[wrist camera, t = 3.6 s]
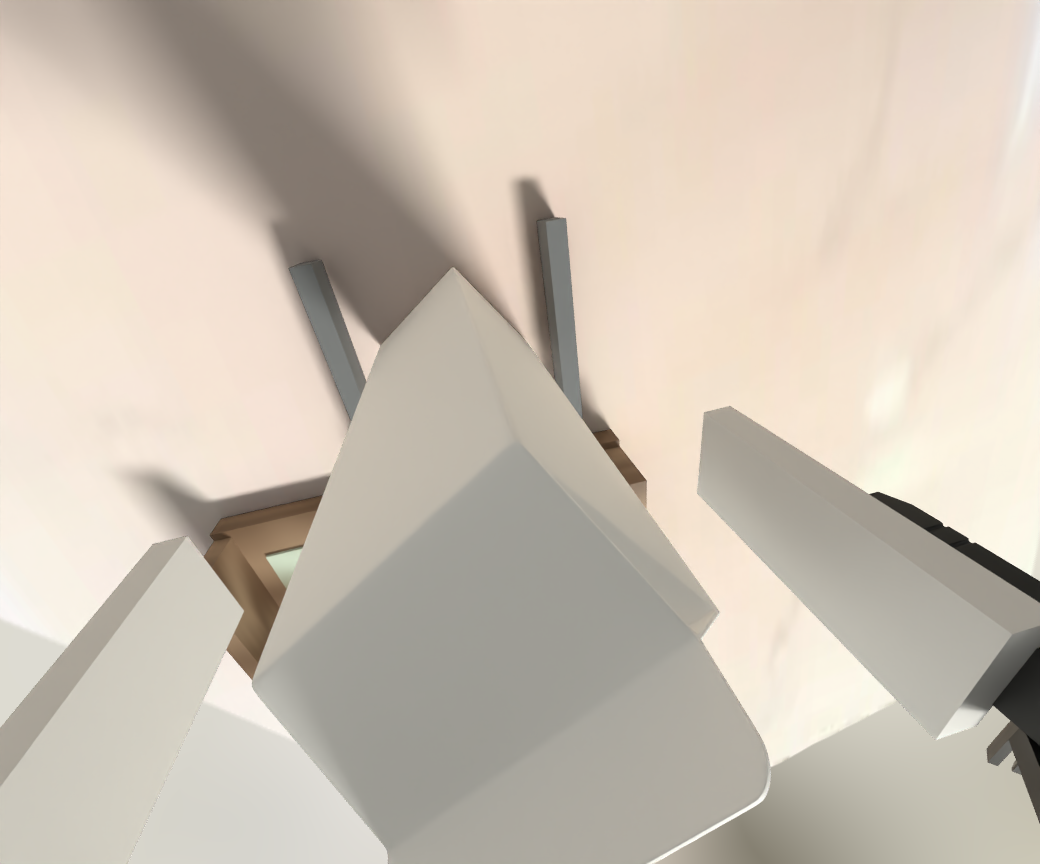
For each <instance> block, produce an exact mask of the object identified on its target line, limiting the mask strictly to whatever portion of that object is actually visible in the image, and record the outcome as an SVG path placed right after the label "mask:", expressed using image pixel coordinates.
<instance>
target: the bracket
mask: <svg viewBox="0 0 1040 864" xmlns="http://www.w3.org/2000/svg"><path fill="white" fill-rule="evenodd" d="M537 228H538V237H539V246H540V255H541V263H542V272H543V281H544V289H545V298H546V307H547V315H548V324H549V333H550V341H551V350H552V359H553V368H554V376H555V382H556V383H557V385H558V386H559V388H560V389H561V390H562V392H563V393H564V395H565V396H566V397H567V399H568V400H569V402H570V403H571V404H572V406H573V407H574V409H575V410H576V411H577V413H578V414H579V416H580V417H581V418H582V406H581V394H580V382H579V369H578V357H577V345H576V333H575V321H574V309H573V297H572V285H571V273H570V260H569V248H568V236H567V224H566V218H556V217H555V218H549V219H544V220H538V221H537ZM289 270H290V273H291V275H292V278H293V280H294V283H295V285H296V288H297V290H298V292H299V295H300V297H301V300H302V302H303V305H304V307H305V310H306V312H307V315H308V317H309V319H310V322H311V324H312V327H313V329H314V332H315V334H316V337H317V339H318V341H319V344H320V346H321V349H322V351H323V354H324V356H325V359H326V361H327V363H328V366H329V368H330V371H331V373H332V376H333V378H334V381H335V383H336V386H337V388H338V390H339V393H340V395H341V398H342V400H343V403H344V405H345V408H346V410H347V412H348V415H349V417H350V420H351V421H352V418H353V416H354V413H355V411H356V408H357V405H358V403H359V400H360V398H361V395H362V392H363V390H364V387H365V385H366V379H365V377H364V374H363V371H362V368H361V366H360V363H359V360H358V358H357V355H356V352H355V349H354V347H353V344H352V341H351V338H350V336H349V333H348V330H347V328H346V325H345V322H344V319H343V317H342V314H341V311H340V308H339V306H338V303H337V300H336V298H335V295H334V292H333V289H332V287H331V284H330V281H329V278H328V276H327V273H326V270H325V268H324V265H323V262H322V260H316V261H310V262H305V263H300V264H298V265H295V266H293V267H290V268H289ZM582 420H583V418H582Z"/></svg>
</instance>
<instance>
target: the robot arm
mask: <svg viewBox="0 0 1040 864" xmlns="http://www.w3.org/2000/svg"><path fill="white" fill-rule="evenodd" d="M697 494H698V495H699V496H700V497H701V498H702V499H703V500H704V501H705V502H706V503H707V504H708V505H709V506H710V507H711V508H712V509H713V510H714V511H715V512H716V513H717V514H718V515H719V516H720V517H721V519H722V520H723V521H724V522H725V523H726V524H727V525H728V526H729V527H730V528H731V529H732V530H733V531H734V532H735V533H736V534H737V535H738V536H739V537H740V538H741V539H742V540H743V541H744V542H745V543H746V544H747V545H748V547H749V548H750V549H751V550H752V551H753V552H754V553H755V554H756V555H757V556H758V557H759V558H760V559H761V560H762V561H763V562H764V563H765V564H766V565H767V566H768V567H769V568H770V569H771V570H772V571H773V572H774V573H775V575H776V576H777V577H778V578H779V579H780V580H781V581H782V582H783V583H784V584H785V585H786V586H787V587H788V588H789V589H790V590H791V591H792V592H793V593H794V594H795V595H796V596H797V597H798V598H799V599H800V600H801V601H802V603H803V604H804V605H805V606H806V607H807V608H808V609H809V610H810V611H811V612H812V613H813V614H814V615H815V616H816V617H817V618H818V619H819V620H820V621H821V622H822V623H823V624H824V625H825V626H826V627H827V628H828V629H829V631H830V632H831V633H832V634H833V635H834V636H835V637H836V638H837V639H838V640H839V641H840V642H841V643H842V644H843V645H844V646H845V647H846V648H847V649H848V650H849V651H850V652H851V653H852V654H853V655H854V656H855V657H856V659H857V660H858V661H859V662H860V663H861V664H862V665H863V666H864V667H865V668H866V669H867V670H868V671H869V672H870V673H871V674H872V675H873V676H874V677H875V678H876V679H877V680H878V681H879V682H880V683H881V684H882V685H883V687H884V688H885V689H886V690H887V691H888V692H889V693H890V694H891V695H892V696H893V697H894V698H895V699H896V700H897V701H898V702H899V703H900V704H901V705H902V706H903V707H904V708H905V709H906V710H907V711H908V712H909V714H911V716H912V717H913V718H914V719H915V720H916V721H917V722H918V723H919V724H920V725H921V726H922V727H923V728H924V729H925V730H926V731H927V732H928V733H929V734H930V735H931V736H932V737H933V738H934V739H935V740H937V739H940V738H943V737H946V736H949V735H952V734H955V733H958V732H960V731H963V730H966V729H969V728H972V727H975V726H977V725H978V724H979V722H980V721H981V720H982V719H983V717H984V716H985V715H986V714H987V712H988V711H989V710H990V709H991V707H992V706H995V707H996V708H997V709H998V710H999V711H1000V712H1001V713H1003V714H1004V715H1005V716H1006V717H1007V718H1008V719H1009V720H1011V721H1010V722H1009V723H1008V724H1007V725H1006V727H1005V728H1004V729H1003V730H1002V731H1001V732H1000V733H999V735H998V736H997V737H996V738H995V739H994V740H993V742H992V743H991V744H990V745H989V746H988V748H987V759H988V763H991V764H994V765H996V766H998V765H999V764H1000V763H1001V762H1002V761H1003V759H1005V758H1006V757H1007V756H1008V754H1009V753H1010V752H1011V751H1012V750H1013V753H1014V756H1015V758H1016V761H1015V762H1014V765H1013V767H1012V771H1013V772H1016V773H1018V774H1021V775H1022V777H1023V780H1024V782H1025V785H1026V788H1027V790H1028V793H1029V795H1030V798H1031V801H1032V803H1033V806H1034V809H1035V812H1036V815H1037V817H1038V820H1039V823H1040V581H1038V580H1037V579H1035V578H1033V577H1032V576H1030V575H1028V574H1027V573H1025V572H1023V571H1022V570H1020V569H1018V568H1017V567H1015V566H1013V565H1012V564H1010V563H1008V562H1007V561H1005V560H1003V559H1002V558H1000V557H999V556H997V555H995V554H994V553H992V552H990V551H989V550H987V549H985V548H984V547H982V546H980V545H979V544H977V543H971V542H969V540H968V539H969V538H967V537H965V536H964V535H962V534H960V533H959V532H957V531H955V530H954V529H952V528H950V527H944V526H943V523H942V522H940V521H939V520H937V519H935V518H934V517H932V516H930V515H929V514H927V513H925V512H924V511H922V510H920V509H919V508H917V507H915V506H914V505H912V504H909V503H906V502H904V501H901V500H898V499H896V498H893V497H890V496H888V495H885V494H883V493H880V492H876V493H872V494H868V493H866V492H865V491H863V490H861V489H860V488H858V487H857V486H855V485H854V484H852V483H850V482H849V481H847V480H846V479H844V478H843V477H841V476H839V475H838V474H836V473H835V472H833V471H832V470H830V469H828V468H827V467H825V466H824V465H822V464H821V463H819V462H817V461H816V460H814V459H813V458H811V457H810V456H808V455H806V454H805V453H803V452H802V451H800V450H799V449H797V448H795V447H794V446H792V445H791V444H789V443H787V442H786V441H784V440H783V439H781V438H780V437H778V436H776V435H775V434H773V433H772V432H770V431H769V430H767V429H765V428H764V427H762V426H761V425H759V424H758V423H756V422H754V421H753V420H751V419H750V418H748V417H747V416H745V415H743V414H742V413H740V412H739V411H737V410H736V409H734V408H732V407H731V406H729V407H725V408H720V409H716V410H712V411H708V412H704V418H703V430H702V442H701V454H700V466H699V478H698V490H697ZM243 612H244V610H243V609H242V607H241V606H240V605H239V604H238V602H237V601H236V600H235V598H234V597H233V596H232V594H231V593H230V592H229V590H228V589H227V588H226V586H225V585H224V584H223V582H222V581H221V580H220V578H219V577H218V576H217V574H216V573H215V572H214V570H213V569H212V568H211V566H210V565H209V564H208V562H207V561H206V560H205V558H204V557H203V556H202V554H201V553H200V552H199V550H198V549H197V548H196V546H195V545H194V544H193V542H192V541H191V540H190V538H189V537H188V536H185V537H180V538H176V539H172V540H168V541H164V542H160V543H155V544H153V545H152V546H151V547H150V548H149V550H148V551H147V552H146V553H145V554H144V556H143V557H142V558H141V559H140V560H139V562H138V563H137V564H136V565H135V566H134V568H133V569H132V570H131V571H130V572H129V574H128V575H127V576H126V577H125V578H124V580H123V581H122V582H121V583H120V584H119V586H118V587H117V588H116V589H115V590H114V592H113V593H112V594H111V595H110V596H109V598H108V599H107V600H106V601H105V602H104V604H103V605H102V606H101V607H100V608H99V610H98V611H97V612H96V613H95V614H94V616H93V617H92V618H91V619H90V621H89V622H88V623H87V624H86V625H85V627H84V628H83V629H82V630H81V631H80V633H79V634H78V635H77V636H76V637H75V639H74V640H73V641H72V642H71V643H70V645H69V646H68V647H67V648H66V649H65V651H64V652H63V653H62V654H61V655H60V657H59V658H58V659H57V660H56V662H55V663H54V664H53V665H52V666H51V667H50V669H49V670H48V671H47V672H46V674H45V675H44V676H43V677H42V678H41V679H40V681H39V682H38V683H37V684H36V685H35V687H34V688H33V689H32V690H31V692H30V693H29V694H28V695H27V696H26V698H25V699H24V700H23V701H22V702H21V704H20V705H19V706H18V707H17V708H16V710H15V711H14V712H13V713H12V714H11V716H10V717H9V718H8V719H7V720H6V722H5V723H4V724H3V725H2V726H1V728H0V864H128V862H129V859H130V857H131V855H132V853H133V851H134V848H135V846H136V844H137V842H138V840H139V837H140V836H141V833H142V831H143V829H144V827H145V825H146V823H147V820H148V818H149V816H150V813H151V812H152V809H153V807H154V805H155V803H156V801H157V799H158V797H159V794H160V792H161V790H162V788H163V786H164V783H165V781H166V779H167V777H168V775H169V773H170V771H171V768H172V766H173V764H174V762H175V760H176V758H177V755H178V753H179V751H180V749H181V747H182V745H183V742H184V740H185V738H186V736H187V734H188V732H189V729H190V727H191V725H192V723H193V721H194V719H195V716H196V714H197V712H198V710H199V708H200V706H201V703H202V701H203V699H204V697H205V695H206V693H207V690H208V688H209V686H210V684H211V682H212V680H213V677H214V675H215V673H216V671H217V669H218V667H219V664H220V662H221V660H222V658H223V656H224V654H225V651H226V649H227V647H228V645H229V643H230V641H231V638H232V636H233V634H234V632H235V630H236V628H237V625H238V623H239V621H240V619H241V617H242V615H243Z"/></svg>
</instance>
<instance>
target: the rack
mask: <svg viewBox="0 0 1040 864" xmlns="http://www.w3.org/2000/svg"><path fill="white" fill-rule="evenodd" d="M592 434H593V435H594V437H595V438H596V439H597V441H598V442H599V444H600V445H601V446H602V448H603V449H604V450H605V452H606V453H607V455H608V456H609V457H610V459H611V460H612V462H613V463H614V464H615V466H616V467H617V469H618V470H619V471H620V473H621V474H622V476H623V477H624V478H625V480H626V481H627V483H628V484H629V485H630V487H631V488H632V490H633V491H634V492H635V494H636V495H637V497H638V498H639V499H640V501H641V502H642V504H643V505H644V506H645V508H646V491H647V481H646V479H645V478H644V477H643V475H642V474H641V473H640V472H639V470H638V469H637V468H636V467H635V465H634V464H633V463H632V462H631V460H630V459H629V458H628V456H627V455H626V454H625V453H624V451H623V450H622V449H621V448H620V446H619V439H618V438H617V437H616V435H615V434H614V433H613V432H612V430H611V429H610V430H605V431H601V432H597V433H592ZM321 499H322V496H318V497H314V498H310V499H305V500H301V501H297V502H292V503H288V504H284V505H279V506H275V507H271V508H266V509H262V510H258V511H253V512H249V513H245V514H240V515H236V516H231V517H227V518H223V519H220V521H219V522H218V524H217V525H216V527H215V528H214V530H213V531H212V533H211V534H210V536H211V538H212V539H213V540H214V542H213V544H212V545H211V547H210V548H209V550H208V551H207V553H206V554H205V556H204V558H205V560H206V561H207V562H208V564H209V565H210V566H211V568H212V569H213V570H214V572H215V573H216V574H217V576H218V577H219V578H220V580H221V581H222V582H223V584H224V585H225V586H226V588H227V589H228V590H229V592H230V593H231V594H232V596H233V597H234V598H235V600H236V601H237V602H238V604H239V605H240V606H241V607H242V609H243V610H244V612H243V615H242V617H241V619H240V621H239V623H238V625H237V628H236V630H235V632H234V634H233V636H232V638H231V641H230V643H229V645H228V647H227V649H226V650H227V651H228V652H229V654H230V655H231V656H232V657H233V658H234V659H235V661H236V662H237V663H238V664H239V665H240V666H241V668H242V669H243V670H244V671H245V672H246V673H247V675H248V676H249V677H250V678H251V679H252V680H253V676H254V674H255V671H256V668H257V665H258V663H259V660H260V658H261V655H262V652H263V650H264V647H265V645H266V642H267V639H268V637H269V634H270V632H271V629H272V626H273V624H274V621H275V619H276V616H277V613H278V611H279V608H280V606H281V603H282V600H283V598H284V595H285V593H286V590H287V587H288V585H289V582H290V580H291V577H292V574H293V572H294V569H295V567H296V564H297V561H298V559H299V556H300V554H301V551H302V548H303V546H304V543H305V541H306V538H307V535H308V533H309V530H310V528H311V525H312V522H313V520H314V517H315V515H316V512H317V509H318V507H319V504H320V502H321Z"/></svg>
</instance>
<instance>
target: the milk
mask: <svg viewBox="0 0 1040 864" xmlns="http://www.w3.org/2000/svg"><path fill="white" fill-rule="evenodd" d="M719 613H720V612H719V610H718V609H717V607H716V606H715V604H714V603H713V602H712V600H711V599H710V597H709V596H708V595H707V593H706V592H705V590H704V589H703V588H702V586H701V585H700V583H699V582H698V581H697V579H696V578H695V576H694V575H693V574H692V572H691V571H690V569H689V568H688V567H687V565H686V564H685V562H684V561H683V560H682V558H681V557H680V555H679V554H678V553H677V551H676V550H675V548H674V547H673V546H672V544H671V543H670V541H669V540H668V539H667V537H666V536H665V534H664V533H663V532H662V530H661V529H660V527H659V526H658V525H657V523H656V522H655V520H654V519H653V518H652V516H651V515H650V513H649V512H648V511H647V509H646V508H645V506H644V505H643V504H642V502H641V501H640V499H639V498H638V497H637V495H636V494H635V492H634V491H633V490H632V488H631V487H630V485H629V484H628V483H627V481H626V480H625V478H624V477H623V476H622V474H621V473H620V471H619V470H618V469H617V467H616V466H615V464H614V463H613V462H612V460H611V459H610V457H609V456H608V455H607V453H606V452H605V450H604V449H603V448H602V446H601V445H600V444H599V442H598V441H597V439H596V438H595V437H594V435H593V434H592V432H591V431H590V430H589V428H588V427H587V425H586V424H585V423H584V421H583V420H582V418H581V417H580V416H579V414H578V413H577V411H576V410H575V409H574V407H573V406H572V404H571V403H570V402H569V400H568V399H567V397H566V396H565V395H564V393H563V392H562V390H561V389H560V388H559V386H558V385H557V383H556V382H555V381H554V379H553V378H552V376H551V375H550V374H549V372H548V371H547V369H546V368H545V367H544V365H543V364H542V362H541V361H540V360H539V358H538V357H537V355H536V354H535V353H534V351H533V350H532V348H531V347H530V346H529V344H528V343H527V342H526V341H525V340H524V338H523V337H522V336H521V335H520V334H519V333H518V332H517V331H516V330H515V329H514V328H513V327H512V326H511V325H510V324H509V323H508V322H507V321H506V320H505V319H504V318H503V317H502V316H501V315H500V314H499V313H498V312H497V311H496V310H495V309H494V308H493V307H492V306H491V305H490V304H489V303H488V302H487V300H486V299H485V298H484V297H483V296H482V295H481V294H480V293H479V292H478V291H477V290H476V289H475V288H474V287H473V286H472V285H471V284H470V283H469V282H468V281H467V280H466V279H465V278H464V277H463V276H462V275H461V274H460V273H459V272H458V271H457V270H456V269H455V268H454V267H452V268H451V269H450V270H449V271H448V272H447V273H446V274H445V275H444V276H443V278H442V279H441V280H440V281H439V282H438V283H437V284H436V285H435V286H434V287H433V288H432V290H431V291H430V292H429V293H428V294H427V295H426V296H425V297H424V298H423V299H422V301H421V302H420V303H419V304H418V305H417V306H416V307H415V308H414V309H413V310H412V312H411V313H410V314H409V315H408V316H407V317H406V318H405V319H404V320H403V321H402V322H401V324H400V325H399V326H398V327H397V328H396V329H395V330H394V331H393V332H392V333H391V335H390V336H389V337H388V338H387V339H386V340H385V341H384V342H383V343H382V345H381V346H380V348H379V351H378V353H377V356H376V359H375V361H374V364H373V366H372V369H371V372H370V374H369V377H368V379H367V382H366V385H365V387H364V390H363V392H362V395H361V398H360V400H359V403H358V405H357V408H356V411H355V413H354V416H353V418H352V421H351V424H350V426H349V429H348V431H347V434H346V437H345V439H344V442H343V444H342V447H341V450H340V452H339V455H338V457H337V460H336V463H335V465H334V468H333V470H332V473H331V476H330V478H329V481H328V483H327V486H326V489H325V491H324V494H323V496H322V499H321V502H320V504H319V507H318V509H317V512H316V515H315V517H314V520H313V522H312V525H311V528H310V530H309V533H308V535H307V538H306V541H305V543H304V546H303V548H302V551H301V554H300V556H299V559H298V561H297V564H296V567H295V569H294V572H293V574H292V577H291V580H290V582H289V585H288V587H287V590H286V593H285V595H284V598H283V600H282V603H281V606H280V608H279V611H278V613H277V616H276V619H275V621H274V624H273V626H272V629H271V632H270V634H269V637H268V639H267V642H266V645H265V647H264V650H263V652H262V655H261V658H260V660H259V663H258V665H257V668H256V671H255V674H254V676H253V680H252V687H253V689H254V691H255V693H256V694H257V695H258V697H259V698H260V699H261V700H262V702H263V703H264V704H265V705H266V706H267V708H268V709H269V710H270V711H271V712H272V714H273V715H274V716H275V717H276V718H277V719H278V721H279V722H280V723H281V724H282V725H283V727H284V728H285V729H286V730H287V731H288V732H289V734H290V735H291V736H292V737H293V738H294V740H295V741H296V742H297V743H298V744H299V745H300V747H301V748H302V749H303V750H304V751H305V753H306V754H307V755H308V756H309V757H310V759H311V760H312V761H313V762H314V763H315V764H316V766H317V767H318V768H319V769H320V770H321V772H322V773H323V774H324V775H325V776H326V777H327V779H328V780H329V781H330V782H331V783H332V785H333V786H334V787H335V788H336V789H337V791H338V792H339V793H340V794H341V795H342V796H343V798H344V799H345V800H346V801H347V802H348V804H349V805H350V806H351V807H352V808H353V809H354V811H355V812H356V813H357V814H358V815H359V816H360V818H361V819H362V820H363V821H364V822H365V824H366V825H367V826H368V827H369V828H370V830H371V831H372V832H373V833H374V834H375V835H376V837H377V838H378V839H379V840H380V841H381V843H382V844H383V845H384V846H385V848H386V849H387V853H388V864H654V863H656V862H657V861H659V860H661V859H663V858H664V857H666V856H668V855H670V854H672V853H673V852H675V851H677V850H678V849H680V848H682V847H684V846H686V845H687V844H689V843H691V842H693V841H695V840H696V839H698V838H700V837H702V836H703V835H705V834H707V833H709V832H710V831H712V830H714V829H716V828H717V827H719V826H721V825H723V824H724V823H726V822H728V821H730V820H732V819H733V818H735V817H737V816H738V815H740V814H742V813H744V812H746V811H748V810H749V809H751V808H752V807H754V806H756V805H757V804H759V803H760V802H762V801H763V799H764V798H765V796H766V794H767V792H768V789H769V785H770V779H771V769H770V762H769V758H768V753H767V750H766V748H765V745H764V743H763V741H762V739H761V737H760V735H759V733H758V731H757V730H756V728H755V726H754V725H753V723H752V721H751V720H750V718H749V717H748V715H747V713H746V712H745V710H744V709H743V707H742V705H741V704H740V702H739V700H738V699H737V697H736V696H735V694H734V692H733V691H732V689H731V688H730V686H729V684H728V683H727V681H726V680H725V678H724V676H723V675H722V673H721V672H720V670H719V668H718V667H717V665H716V664H715V662H714V660H713V659H712V657H711V655H710V654H709V652H708V651H707V649H706V647H705V646H704V644H703V642H702V641H701V640H702V638H703V637H704V635H705V634H706V633H707V631H708V630H709V628H710V627H711V626H712V624H713V623H714V621H715V620H716V618H717V617H718V616H719Z"/></svg>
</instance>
